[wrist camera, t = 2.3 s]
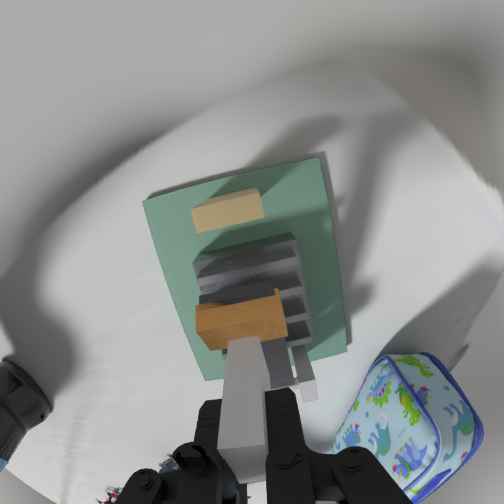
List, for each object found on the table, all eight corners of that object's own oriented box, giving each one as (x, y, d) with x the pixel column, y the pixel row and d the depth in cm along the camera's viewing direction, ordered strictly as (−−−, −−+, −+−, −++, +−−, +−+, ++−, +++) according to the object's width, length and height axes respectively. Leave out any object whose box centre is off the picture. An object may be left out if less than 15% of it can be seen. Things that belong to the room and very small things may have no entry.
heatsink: (225, 339, 33) (221, 368, 27) (198, 253, 30) (187, 270, 24) (307, 322, 32) (317, 348, 27) (290, 232, 29) (300, 244, 24)
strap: (252, 383, 26) (255, 403, 25) (195, 296, 15) (195, 331, 13) (295, 375, 26) (299, 395, 24) (275, 278, 15) (283, 314, 13)
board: (206, 376, 35) (196, 431, 26) (145, 200, 29) (102, 212, 19) (345, 347, 34) (370, 397, 25) (316, 157, 28) (348, 150, 19)
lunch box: (370, 446, 42) (400, 527, 21) (321, 451, 41) (341, 543, 21) (430, 340, 35) (507, 428, 15) (373, 340, 34) (447, 456, 14)
